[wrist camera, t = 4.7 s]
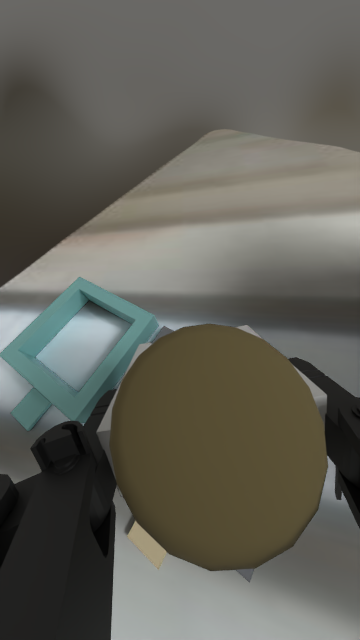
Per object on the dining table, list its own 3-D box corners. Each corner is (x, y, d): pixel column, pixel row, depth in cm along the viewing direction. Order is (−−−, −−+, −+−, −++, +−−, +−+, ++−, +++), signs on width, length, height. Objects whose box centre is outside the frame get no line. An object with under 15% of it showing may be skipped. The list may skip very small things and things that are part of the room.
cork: (271, 462, 12) (530, 613, 2) (176, 490, 12) (44, 764, 2) (234, 368, 15) (281, 264, 5) (157, 390, 15) (66, 324, 5)
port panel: (89, 288, 23) (79, 276, 21) (296, 399, 15) (309, 395, 13) (-10, 389, 18) (-33, 385, 16) (218, 628, 10) (221, 670, 8)
